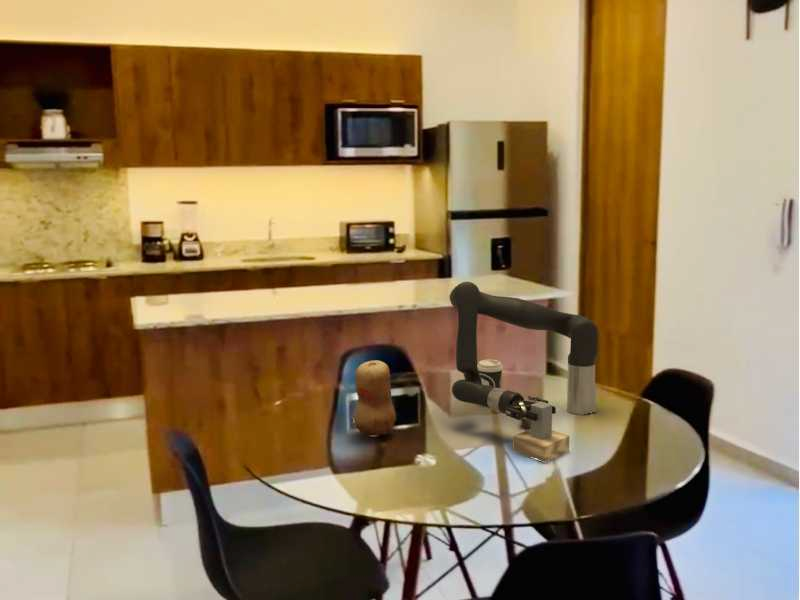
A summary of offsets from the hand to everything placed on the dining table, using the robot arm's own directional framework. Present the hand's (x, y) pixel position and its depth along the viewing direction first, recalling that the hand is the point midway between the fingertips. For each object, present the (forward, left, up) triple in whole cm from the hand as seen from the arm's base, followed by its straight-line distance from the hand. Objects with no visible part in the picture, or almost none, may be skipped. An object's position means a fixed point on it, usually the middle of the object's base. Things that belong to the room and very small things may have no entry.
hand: (546, 414), depth 232 cm
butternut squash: (+52, -19, -13) cm, 57 cm away
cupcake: (-1, -22, -13) cm, 26 cm away
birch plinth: (+1, -1, -12) cm, 13 cm away
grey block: (+1, -1, -8) cm, 8 cm away
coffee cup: (+10, -47, -13) cm, 50 cm away
